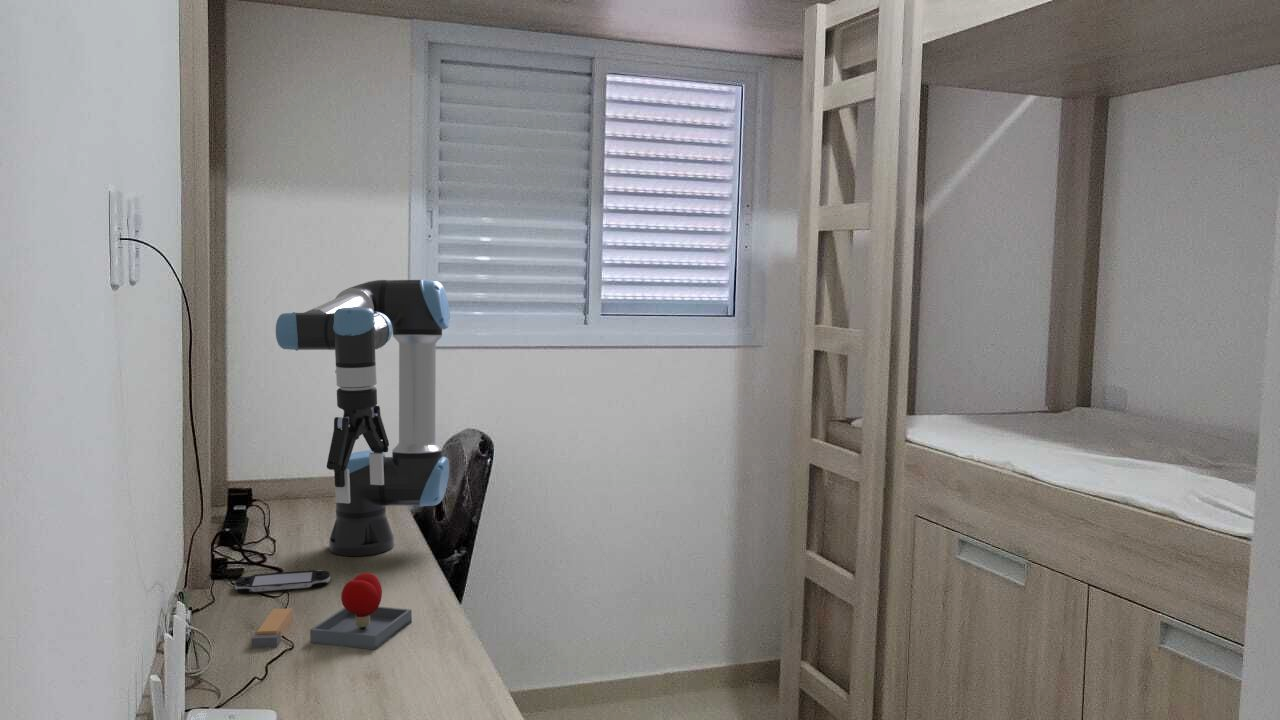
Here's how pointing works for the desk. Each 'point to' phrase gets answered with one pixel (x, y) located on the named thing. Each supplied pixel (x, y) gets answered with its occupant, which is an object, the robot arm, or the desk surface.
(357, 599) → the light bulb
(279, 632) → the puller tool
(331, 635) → the parts tray
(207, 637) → the desk surface
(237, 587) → the gaming console
